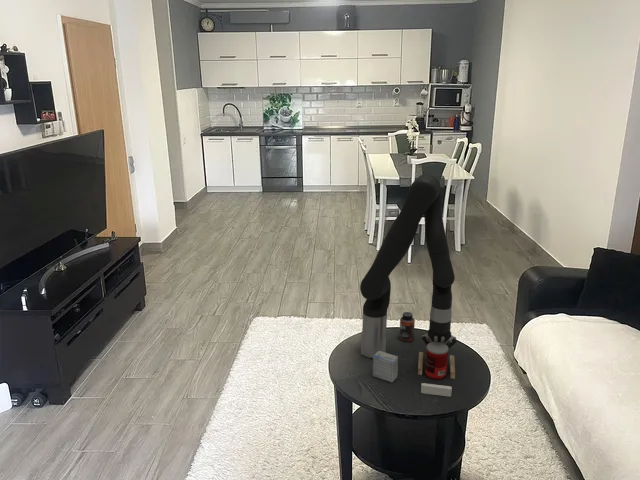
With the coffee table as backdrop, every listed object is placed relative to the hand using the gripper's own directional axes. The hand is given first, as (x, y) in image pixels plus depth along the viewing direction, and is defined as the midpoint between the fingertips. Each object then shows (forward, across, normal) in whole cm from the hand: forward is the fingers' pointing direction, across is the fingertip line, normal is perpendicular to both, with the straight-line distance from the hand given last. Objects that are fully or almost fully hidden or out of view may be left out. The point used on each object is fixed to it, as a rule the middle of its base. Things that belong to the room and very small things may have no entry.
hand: (437, 359), depth 189 cm
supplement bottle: (+3, -12, +19) cm, 23 cm away
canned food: (+3, -1, -5) cm, 6 cm away
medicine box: (+3, -18, -11) cm, 22 cm away
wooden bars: (+3, 0, -1) cm, 3 cm away
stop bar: (+3, -1, -17) cm, 18 cm away
